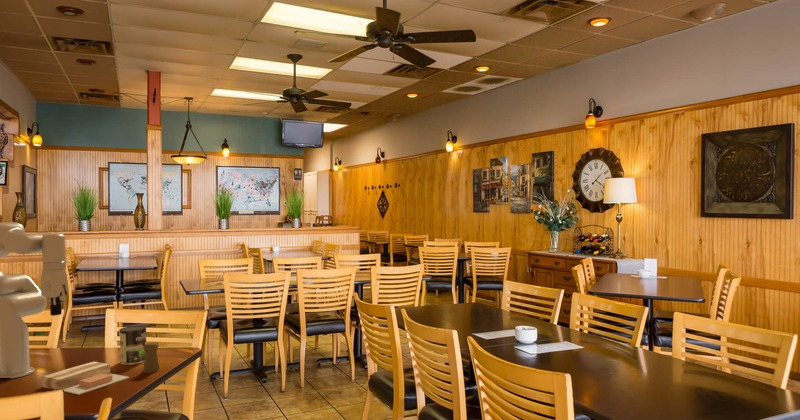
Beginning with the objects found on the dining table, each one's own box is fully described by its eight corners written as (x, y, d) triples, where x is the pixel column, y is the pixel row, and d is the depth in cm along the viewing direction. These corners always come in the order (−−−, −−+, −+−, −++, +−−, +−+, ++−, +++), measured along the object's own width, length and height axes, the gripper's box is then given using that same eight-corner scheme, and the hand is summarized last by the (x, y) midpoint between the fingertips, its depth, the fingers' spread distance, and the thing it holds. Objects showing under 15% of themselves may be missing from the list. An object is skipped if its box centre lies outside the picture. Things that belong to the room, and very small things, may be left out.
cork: (162, 368, 224) (161, 341, 224) (156, 372, 218) (155, 344, 218) (147, 368, 224) (146, 341, 224) (140, 373, 218) (139, 345, 218)
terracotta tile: (89, 382, 200) (90, 388, 200) (112, 375, 209) (112, 380, 209) (79, 380, 203) (79, 385, 203) (101, 373, 211) (101, 378, 211)
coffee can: (152, 358, 239) (151, 325, 238) (136, 365, 229) (135, 331, 228) (131, 357, 241) (130, 325, 241) (114, 364, 231) (113, 330, 230)
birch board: (42, 387, 204) (42, 376, 204) (93, 371, 222) (93, 361, 222) (59, 390, 199) (59, 379, 199) (110, 374, 217) (110, 364, 217)
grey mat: (59, 390, 199) (59, 389, 199) (110, 374, 217) (110, 373, 217) (79, 395, 195) (79, 393, 195) (129, 378, 212) (129, 377, 212)
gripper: (32, 267, 210) (33, 315, 210) (56, 268, 203) (58, 318, 204) (52, 264, 217) (53, 311, 217) (76, 266, 210) (78, 314, 211)
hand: (56, 314), depth 211 cm, fingers closed
